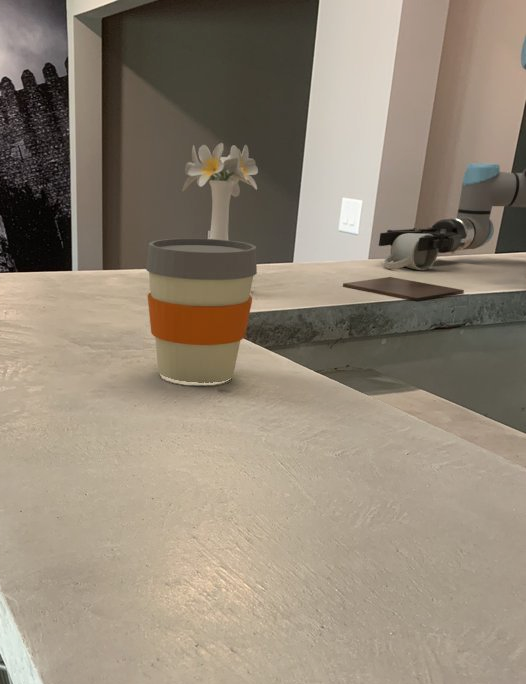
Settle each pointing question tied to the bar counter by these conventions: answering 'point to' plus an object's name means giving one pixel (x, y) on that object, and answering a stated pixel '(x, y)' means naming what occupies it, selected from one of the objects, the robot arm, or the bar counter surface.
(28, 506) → the bar counter surface
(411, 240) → the ceramic mug
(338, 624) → the bar counter surface
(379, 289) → the placemat
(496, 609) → the bar counter surface
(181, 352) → the reusable coffee cup
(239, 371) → the bar counter surface
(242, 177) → the flower vase
